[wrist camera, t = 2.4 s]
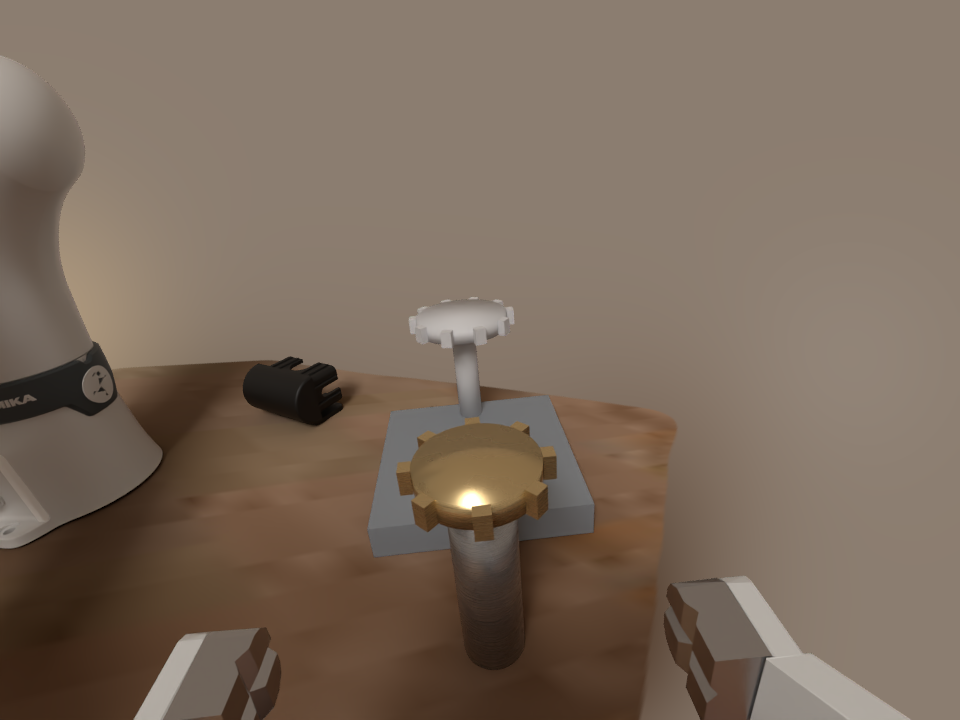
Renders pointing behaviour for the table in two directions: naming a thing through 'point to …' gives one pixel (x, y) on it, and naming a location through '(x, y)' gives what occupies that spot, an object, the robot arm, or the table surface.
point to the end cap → (293, 390)
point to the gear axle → (482, 522)
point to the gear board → (462, 332)
